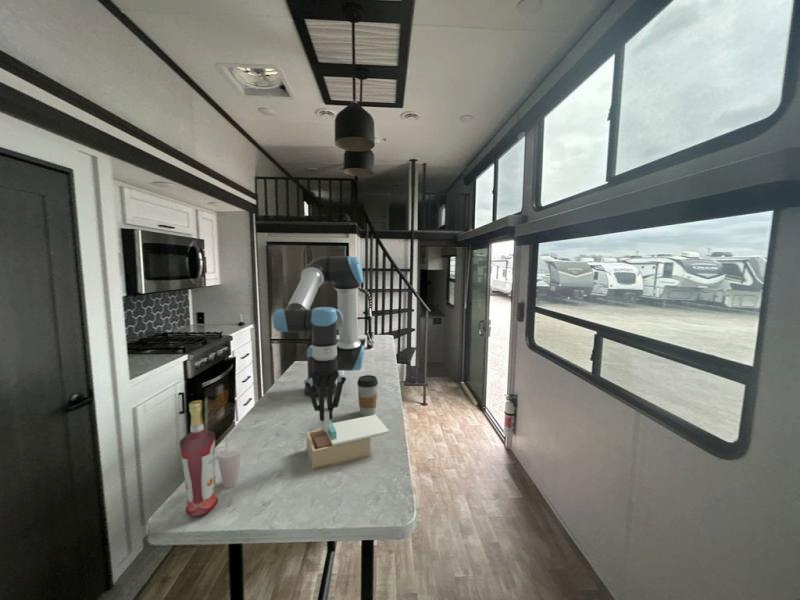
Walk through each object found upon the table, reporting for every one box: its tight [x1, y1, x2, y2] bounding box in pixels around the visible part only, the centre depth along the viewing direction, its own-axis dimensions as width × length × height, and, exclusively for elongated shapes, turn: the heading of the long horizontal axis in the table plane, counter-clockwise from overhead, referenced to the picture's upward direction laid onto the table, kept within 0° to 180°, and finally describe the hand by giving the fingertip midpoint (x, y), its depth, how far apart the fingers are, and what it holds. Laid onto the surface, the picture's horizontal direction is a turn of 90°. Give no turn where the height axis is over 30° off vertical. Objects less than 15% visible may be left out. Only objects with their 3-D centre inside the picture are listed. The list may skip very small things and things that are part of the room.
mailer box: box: [305, 428, 371, 471], centre depth 106 cm, size 12×18×6 cm, turn 115°
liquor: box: [179, 399, 219, 517], centre depth 80 cm, size 7×7×28 cm
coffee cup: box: [357, 374, 379, 417], centre depth 134 cm, size 8×8×15 cm
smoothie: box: [215, 435, 243, 489], centre depth 91 cm, size 6×6×14 cm
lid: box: [326, 414, 390, 446], centre depth 108 cm, size 13×19×3 cm
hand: (326, 429), depth 104 cm, fingers closed
